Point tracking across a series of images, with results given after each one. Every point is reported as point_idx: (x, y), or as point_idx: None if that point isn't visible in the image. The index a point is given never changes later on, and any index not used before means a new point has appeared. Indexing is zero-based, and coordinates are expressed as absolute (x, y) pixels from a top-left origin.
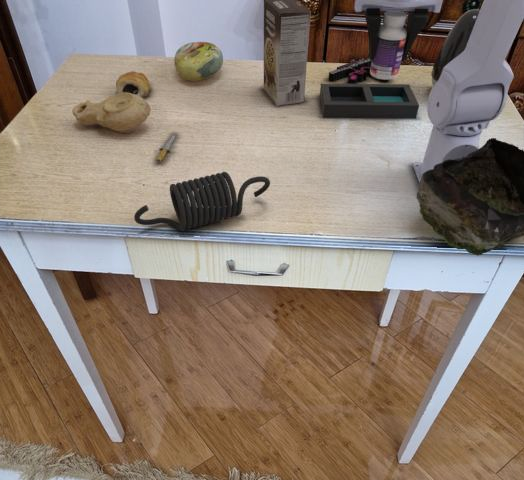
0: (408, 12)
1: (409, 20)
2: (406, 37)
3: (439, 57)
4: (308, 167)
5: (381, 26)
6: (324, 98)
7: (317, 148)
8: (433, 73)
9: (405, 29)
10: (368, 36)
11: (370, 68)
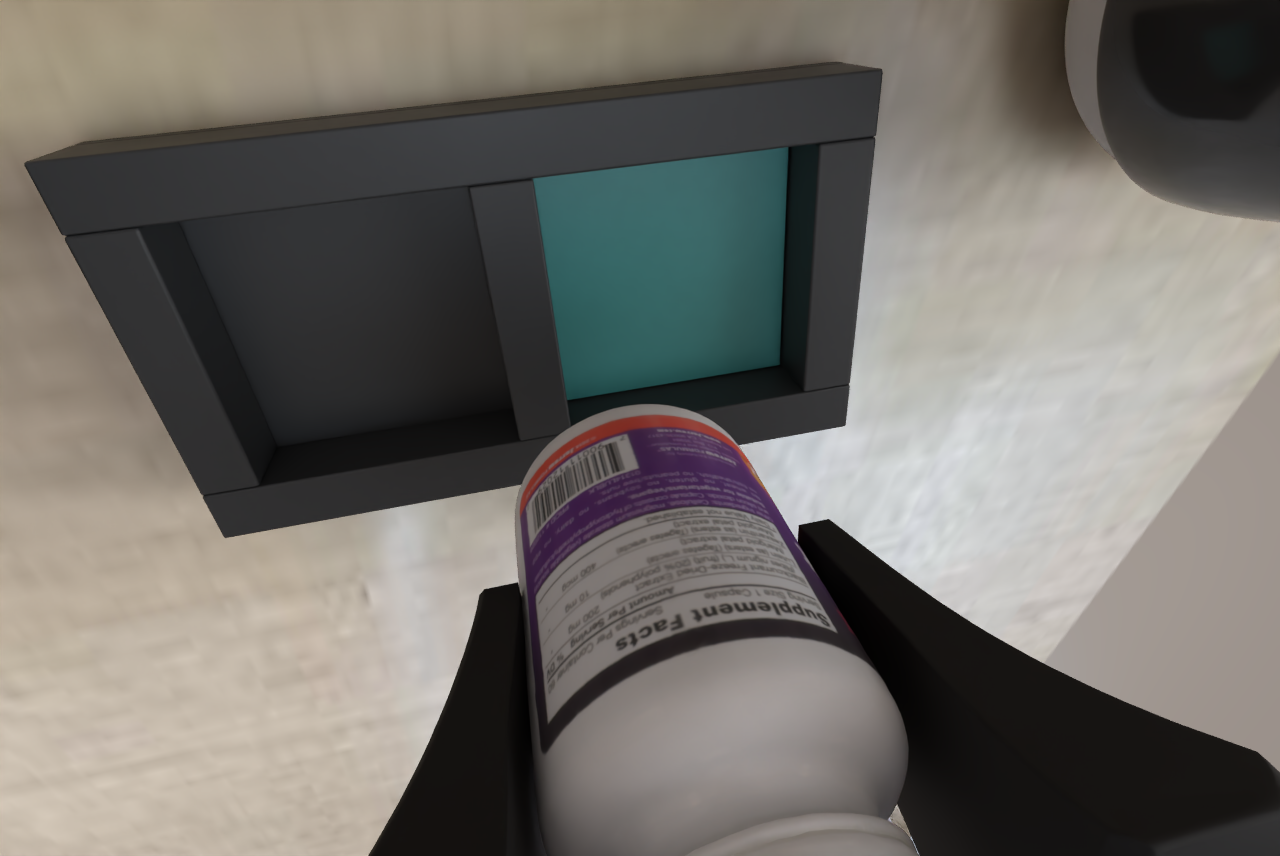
0: (1080, 824)
1: (999, 836)
2: (890, 691)
3: (1273, 27)
4: (318, 831)
5: (598, 850)
6: (190, 457)
7: (315, 733)
8: (1127, 25)
9: (894, 807)
10: (435, 733)
11: (515, 536)
